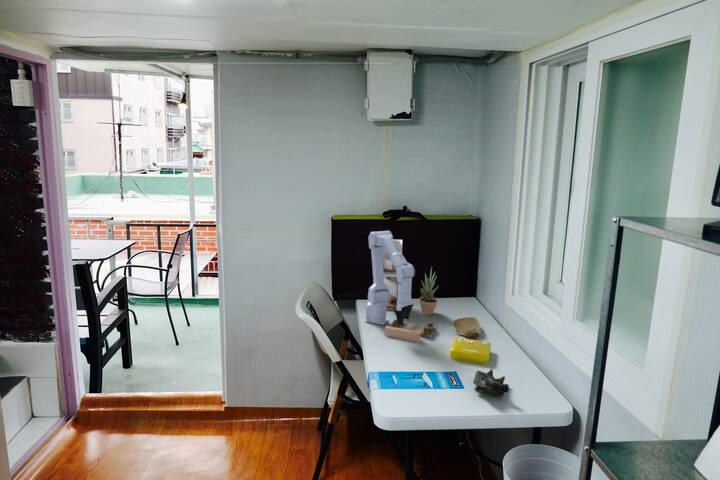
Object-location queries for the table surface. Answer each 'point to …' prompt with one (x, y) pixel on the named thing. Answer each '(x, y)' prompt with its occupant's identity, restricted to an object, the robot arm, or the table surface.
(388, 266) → the display case
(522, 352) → the table surface
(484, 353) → the element tile
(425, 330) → the strip rack
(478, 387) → the mineral specimen
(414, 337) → the clay strip
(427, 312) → the potted plant
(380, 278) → the robot arm
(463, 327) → the stone tool
